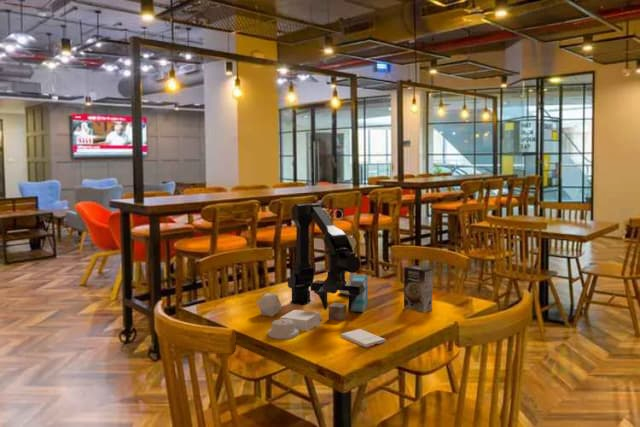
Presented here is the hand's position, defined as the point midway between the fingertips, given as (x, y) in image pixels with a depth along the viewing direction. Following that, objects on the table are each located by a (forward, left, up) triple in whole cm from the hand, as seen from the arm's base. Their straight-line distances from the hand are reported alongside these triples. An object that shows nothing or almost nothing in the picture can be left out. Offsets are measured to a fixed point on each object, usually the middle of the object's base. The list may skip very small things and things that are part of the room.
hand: (337, 310), depth 197 cm
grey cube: (0, 0, -3) cm, 3 cm away
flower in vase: (-8, +35, -3) cm, 36 cm away
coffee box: (+24, +22, -3) cm, 33 cm away
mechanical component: (-10, -23, -3) cm, 25 cm away
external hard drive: (+16, -18, -3) cm, 24 cm away
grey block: (-9, -12, -3) cm, 15 cm away
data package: (+3, +15, -3) cm, 16 cm away
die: (-25, -5, -3) cm, 26 cm away
